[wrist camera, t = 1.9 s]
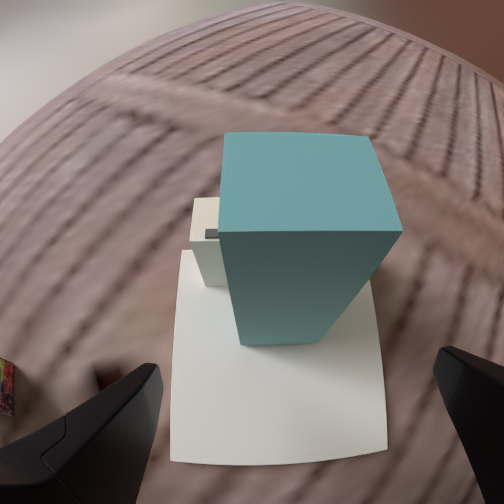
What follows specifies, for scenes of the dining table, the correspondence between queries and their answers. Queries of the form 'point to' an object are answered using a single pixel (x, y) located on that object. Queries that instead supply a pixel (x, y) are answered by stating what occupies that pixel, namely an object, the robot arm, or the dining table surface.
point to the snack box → (6, 387)
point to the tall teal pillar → (300, 230)
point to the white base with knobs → (267, 375)
